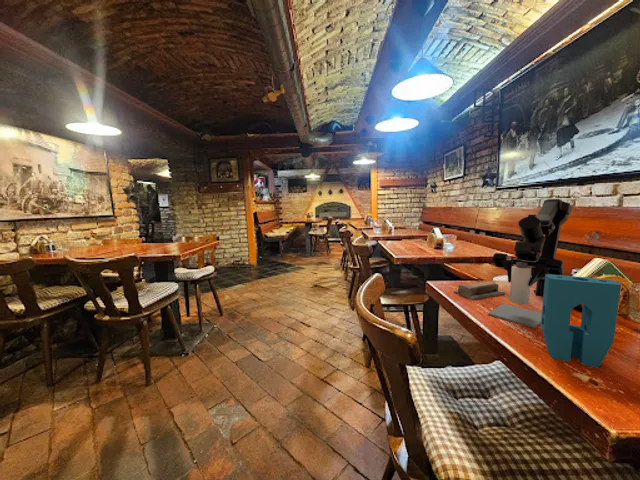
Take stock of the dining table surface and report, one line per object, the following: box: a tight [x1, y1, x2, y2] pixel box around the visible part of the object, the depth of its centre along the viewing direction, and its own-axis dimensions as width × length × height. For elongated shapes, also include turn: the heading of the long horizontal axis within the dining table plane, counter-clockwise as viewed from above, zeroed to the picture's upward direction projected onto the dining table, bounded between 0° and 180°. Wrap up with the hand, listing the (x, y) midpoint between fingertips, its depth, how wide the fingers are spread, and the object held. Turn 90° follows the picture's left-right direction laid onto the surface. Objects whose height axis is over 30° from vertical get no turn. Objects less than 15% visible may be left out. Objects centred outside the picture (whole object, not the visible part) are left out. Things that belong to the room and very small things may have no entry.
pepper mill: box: [509, 262, 532, 305], centre depth 85 cm, size 5×5×14 cm
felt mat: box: [487, 303, 542, 329], centre depth 86 cm, size 14×13×1 cm
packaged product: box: [453, 281, 506, 300], centre depth 109 cm, size 18×5×10 cm
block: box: [540, 274, 622, 368], centre depth 61 cm, size 12×5×20 cm, turn 61°
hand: (518, 283), depth 84 cm, fingers closed on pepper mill, 5 cm apart
